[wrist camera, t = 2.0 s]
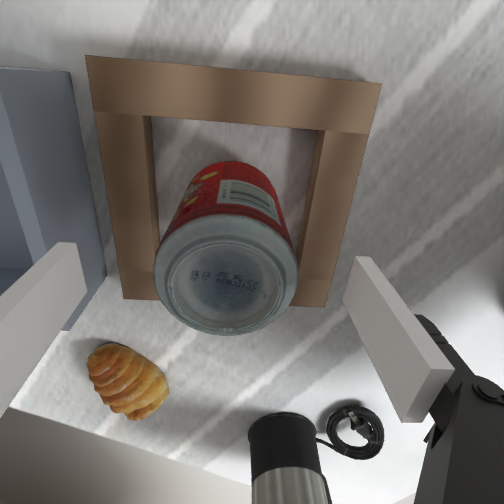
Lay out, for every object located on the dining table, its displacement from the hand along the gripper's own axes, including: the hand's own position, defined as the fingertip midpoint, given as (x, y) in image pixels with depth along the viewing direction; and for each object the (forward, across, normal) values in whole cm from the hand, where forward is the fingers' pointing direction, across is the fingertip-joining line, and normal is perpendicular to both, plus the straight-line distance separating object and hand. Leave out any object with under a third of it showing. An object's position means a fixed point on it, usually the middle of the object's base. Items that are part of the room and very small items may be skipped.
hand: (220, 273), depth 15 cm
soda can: (+11, 0, 0) cm, 11 cm away
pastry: (+12, +10, +22) cm, 26 cm away
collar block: (+11, 0, 0) cm, 11 cm away
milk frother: (+11, -12, +31) cm, 35 cm away
